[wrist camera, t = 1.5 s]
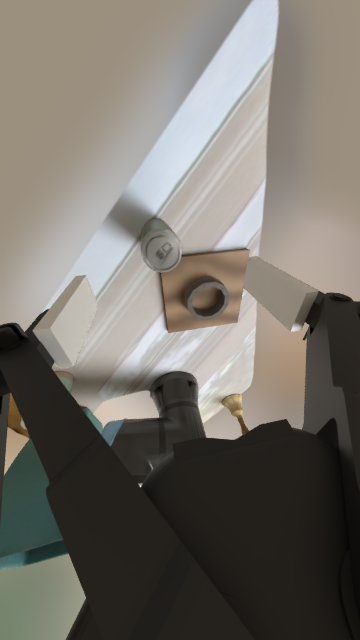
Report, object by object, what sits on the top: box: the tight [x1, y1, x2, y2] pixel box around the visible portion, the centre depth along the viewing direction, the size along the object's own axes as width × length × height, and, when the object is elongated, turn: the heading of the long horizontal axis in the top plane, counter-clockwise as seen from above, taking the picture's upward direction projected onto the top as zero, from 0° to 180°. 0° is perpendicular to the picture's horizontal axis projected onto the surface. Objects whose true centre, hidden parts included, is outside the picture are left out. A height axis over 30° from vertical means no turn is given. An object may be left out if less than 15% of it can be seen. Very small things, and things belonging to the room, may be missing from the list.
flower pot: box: [0, 408, 103, 569], centre depth 49 cm, size 20×20×28 cm
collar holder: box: [161, 249, 250, 333], centre depth 39 cm, size 18×18×4 cm
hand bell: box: [222, 394, 249, 435], centre depth 64 cm, size 8×8×16 cm
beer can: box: [141, 219, 182, 272], centre depth 27 cm, size 5×5×12 cm
